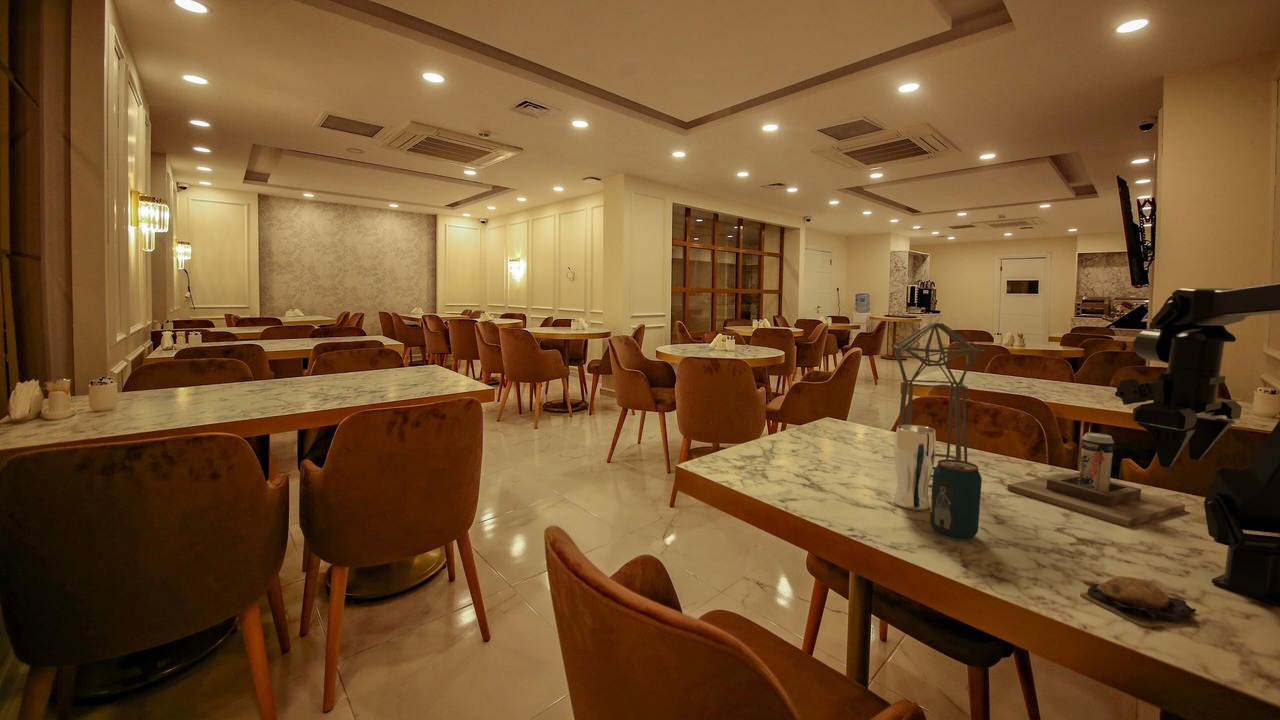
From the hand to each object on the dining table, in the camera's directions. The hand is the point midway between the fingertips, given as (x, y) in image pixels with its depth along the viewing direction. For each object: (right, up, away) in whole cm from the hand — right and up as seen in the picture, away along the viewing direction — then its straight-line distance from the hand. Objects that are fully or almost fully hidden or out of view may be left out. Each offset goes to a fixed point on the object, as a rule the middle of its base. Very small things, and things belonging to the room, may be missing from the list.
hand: (1180, 463), depth 84 cm
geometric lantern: (-24, -10, +31) cm, 40 cm away
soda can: (-35, -13, +3) cm, 37 cm away
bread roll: (-24, -15, -18) cm, 33 cm away
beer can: (+3, -10, +19) cm, 22 cm away
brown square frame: (+3, -11, +19) cm, 23 cm away
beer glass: (-35, -11, +16) cm, 40 cm away
